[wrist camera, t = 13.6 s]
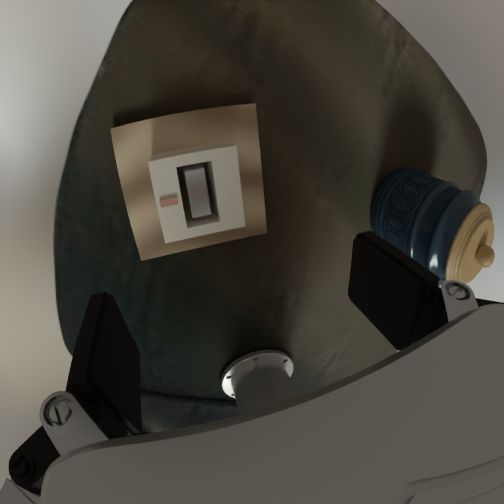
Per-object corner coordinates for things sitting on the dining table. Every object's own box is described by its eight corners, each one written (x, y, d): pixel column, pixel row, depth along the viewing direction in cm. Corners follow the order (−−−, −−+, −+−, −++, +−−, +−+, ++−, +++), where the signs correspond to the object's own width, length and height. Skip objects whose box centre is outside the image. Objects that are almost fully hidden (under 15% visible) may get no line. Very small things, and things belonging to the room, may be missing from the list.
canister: (368, 171, 33) (481, 221, 18) (427, 162, 35) (520, 199, 20) (366, 256, 39) (450, 326, 24) (421, 235, 41) (497, 286, 26)
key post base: (262, 228, 32) (282, 250, 27) (142, 254, 29) (138, 283, 24) (251, 104, 25) (272, 100, 20) (113, 128, 22) (98, 130, 17)
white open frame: (232, 209, 28) (246, 227, 24) (165, 223, 27) (165, 244, 22) (224, 141, 25) (237, 146, 20) (151, 155, 23) (147, 162, 19)
